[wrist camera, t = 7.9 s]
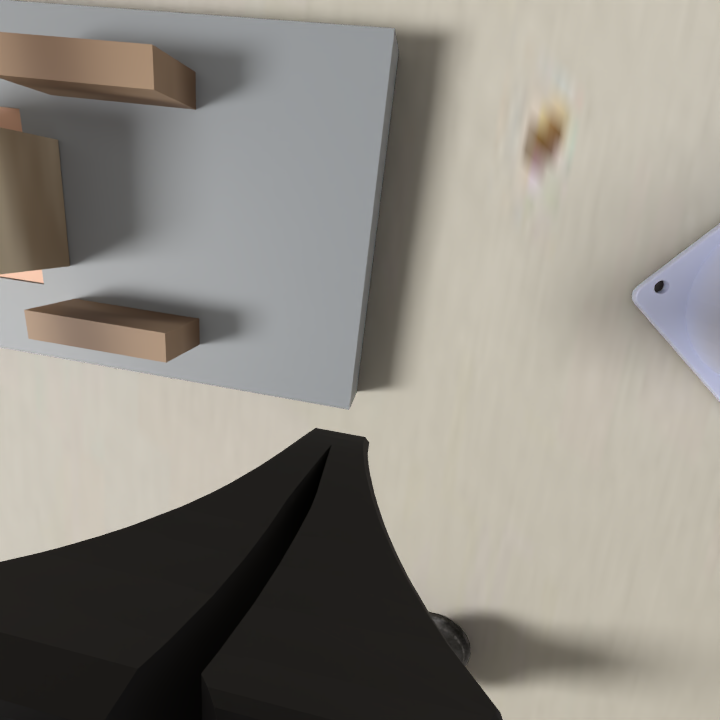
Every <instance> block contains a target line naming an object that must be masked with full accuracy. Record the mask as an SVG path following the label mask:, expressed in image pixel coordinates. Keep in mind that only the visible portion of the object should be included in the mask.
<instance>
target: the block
mask: <svg viewBox="0 0 720 720" xmlns="http://www.w3.org/2000/svg"><path fill="white" fill-rule="evenodd" d="M68 266H70V261H69V250H68V240H67V229H66V219H65V208H64V197H63V187H62V176H61V166H60V155H59V144H58V140H57V139H52V138H47V137H43V136H38V135H33V134H29V133H24V132H19V131H15V130H10V129H5V128H1V127H0V274H9V273H17V272H25V271H34V270H42V269H51V268H59V267H68Z"/></svg>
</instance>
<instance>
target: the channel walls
mask: <svg viewBox="0 0 720 720" xmlns="http://www.w3.org/2000/svg"><path fill="white" fill-rule="evenodd" d="M0 78H1V79H4V80H7V81H10V82H13V83H16V84H19V85H22V86H25V87H28V88H31V89H34V90H37V91H40V92H43V93H46V94H49V95H54V96H64V97H74V98H84V99H94V100H104V101H114V102H124V103H134V104H144V105H154V106H164V107H174V108H184V109H194V110H196V72H195V71H193V70H192V69H190V68H189V67H187V66H185V65H184V64H182V63H181V62H179V61H178V60H176V59H174V58H173V57H171V56H170V55H168V54H167V53H165V52H163V51H162V50H160V49H159V48H157V47H155V46H154V45H152V44H141V43H129V42H117V41H105V40H93V39H81V38H69V37H56V36H44V35H32V34H20V33H8V32H0ZM24 313H25V319H26V326H27V332H28V338H29V339H33V340H38V341H44V342H50V343H56V344H61V345H67V346H73V347H79V348H84V349H90V350H96V351H102V352H108V353H113V354H119V355H125V356H131V357H136V358H142V359H148V360H154V361H159V362H165V363H167V362H168V361H170V360H172V359H174V358H176V357H178V356H180V355H181V354H183V353H185V352H187V351H189V350H191V349H193V348H194V347H196V346H198V345H200V335H199V318H193V317H186V316H180V315H174V314H168V313H161V312H155V311H149V310H142V309H136V308H130V307H124V306H117V305H111V304H105V303H99V302H92V301H86V300H80V299H71V300H66V301H62V302H57V303H53V304H48V305H44V306H39V307H35V308H30V309H26V310H24Z"/></svg>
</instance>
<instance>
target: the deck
mask: <svg viewBox="0 0 720 720" xmlns="http://www.w3.org/2000/svg"><path fill="white" fill-rule="evenodd" d="M0 32H8V33H20V34H32V35H44V36H56V37H69V38H81V39H93V40H105V41H117V42H129V43H141V44H152V45H154V46H155V47H157V48H159V49H160V50H162V51H163V52H165V53H167V54H168V55H170V56H171V57H173V58H174V59H176V60H178V61H179V62H181V63H182V64H184V65H185V66H187V67H189V68H190V69H192V70H193V71H195V72H196V110H194V109H184V108H174V107H164V106H154V105H144V104H134V103H124V102H114V101H104V100H94V99H84V98H74V97H64V96H54V95H49V94H46V93H43V92H40V91H37V90H34V89H31V88H28V87H25V86H22V85H19V84H16V83H13V82H10V81H7V80H4V79H1V78H0V107H7V108H17V109H19V111H20V118H21V125H22V132H24V133H29V134H33V135H38V136H43V137H47V138H52V139H57V140H58V144H59V155H60V166H61V176H62V187H63V197H64V208H65V219H66V229H67V240H68V250H69V261H70V266H68V267H59V268H51V269H42V274H43V281H44V283H39V282H33V281H26V280H20V279H14V278H7V277H1V276H0V348H5V349H11V350H17V351H22V352H28V353H34V354H39V355H45V356H50V357H56V358H62V359H67V360H73V361H79V362H84V363H90V364H95V365H101V366H107V367H112V368H118V369H123V370H129V371H135V372H140V373H146V374H152V375H157V376H163V377H168V378H174V379H180V380H185V381H191V382H197V383H202V384H208V385H213V386H219V387H225V388H230V389H236V390H242V391H247V392H253V393H258V394H264V395H270V396H275V397H281V398H286V399H292V400H298V401H303V402H309V403H315V404H320V405H326V406H331V407H337V408H343V409H348V410H349V409H350V407H351V404H352V402H353V400H354V397H355V395H356V393H357V385H358V377H359V369H360V361H361V353H362V345H363V337H364V329H365V321H366V313H367V305H368V297H369V289H370V281H371V273H372V265H373V257H374V248H375V240H376V232H377V224H378V216H379V208H380V200H381V192H382V184H383V176H384V168H385V160H386V152H387V144H388V136H389V128H390V120H391V111H392V103H393V95H394V87H395V79H396V71H397V63H398V55H399V49H398V44H397V38H396V33H395V28H383V27H369V26H355V25H342V24H328V23H314V22H300V21H287V20H273V19H259V18H246V17H232V16H218V15H204V14H191V13H177V12H163V11H149V10H136V9H122V8H108V7H95V6H81V5H67V4H53V3H40V2H26V1H12V0H0ZM71 299H80V300H86V301H92V302H99V303H105V304H111V305H117V306H124V307H130V308H136V309H142V310H149V311H155V312H161V313H168V314H174V315H180V316H186V317H193V318H199V335H200V345H198V346H196V347H194V348H193V349H191V350H189V351H187V352H185V353H183V354H181V355H180V356H178V357H176V358H174V359H172V360H170V361H168V362H167V363H165V362H159V361H154V360H148V359H142V358H136V357H131V356H125V355H119V354H113V353H108V352H102V351H96V350H90V349H84V348H79V347H73V346H67V345H61V344H56V343H50V342H44V341H38V340H33V339H29V338H28V332H27V326H26V319H25V313H24V310H26V309H30V308H35V307H39V306H44V305H48V304H53V303H57V302H62V301H66V300H71Z"/></svg>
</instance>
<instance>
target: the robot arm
mask: <svg viewBox="0 0 720 720" xmlns="http://www.w3.org/2000/svg"><path fill="white" fill-rule="evenodd" d="M661 280H662V281H663V283H664V287H663V288H662V290H661V291H659V292H655V290H654V286H655V284H656V283H657V282H659V281H661ZM632 300H633V302H634V304H635V305H636V306H637V307H638V308H639V309H640V311H641V312H642V313H643V314H644V315H645V316H646V318H647V319H648V320H649V321H650V322H651V323H652V324H653V326H654V327H655V328H656V329H657V330H658V331H659V333H660V334H661V335H662V336H663V337H664V338H665V339H666V341H667V342H668V343H669V344H670V345H671V346H672V348H673V349H674V350H675V351H676V352H677V353H678V354H679V356H680V357H681V358H682V359H683V360H684V361H685V363H686V364H687V365H688V366H689V367H690V368H691V369H692V371H693V372H694V373H695V374H696V375H697V376H698V378H699V379H700V380H701V381H702V382H703V383H704V384H705V386H706V387H707V388H708V389H709V390H710V391H711V393H712V394H713V395H714V396H715V397H716V398H717V399H718V401H719V402H720V223H719V224H718V225H717V226H715V227H714V228H713V229H711V230H710V231H709V232H707V233H706V234H705V235H703V236H702V237H701V238H699V239H698V240H697V241H696V242H694V243H693V244H692V245H690V246H689V247H688V248H686V249H685V250H684V251H682V252H681V253H680V254H678V255H677V256H676V257H674V258H673V259H672V260H671V261H669V262H668V263H667V264H665V265H664V266H663V267H661V268H660V269H659V270H657V271H656V272H655V273H653V274H652V275H651V276H649V277H648V278H647V279H646V280H644V281H643V282H642V283H640V284H639V285H638V286H637V287H636V288H635V289H634V290H633V293H632ZM368 446H369V442H368V440H367V439H366V438H365V437H361V436H356V435H350V434H345V433H340V432H334V431H329V430H323V429H318V428H315V429H314V430H312V431H311V432H309V433H308V434H306V435H305V436H303V437H302V438H300V439H299V440H298V441H296V442H295V443H293V444H292V445H290V446H289V447H288V448H286V449H285V450H283V451H282V452H280V453H279V454H277V455H276V456H274V457H273V458H271V459H270V460H268V461H267V462H265V463H264V464H262V465H261V466H259V467H257V468H256V469H254V470H252V471H250V472H249V473H247V474H245V475H244V476H242V477H240V478H239V479H237V480H235V481H233V482H232V483H230V484H228V485H226V486H224V487H222V488H220V489H218V490H216V491H214V492H212V493H210V494H208V495H206V496H204V497H202V498H199V499H197V500H195V501H193V502H191V503H189V504H186V505H184V506H182V507H179V508H177V509H174V510H172V511H169V512H166V513H164V514H161V515H158V516H156V517H153V518H151V519H148V520H145V521H143V522H140V523H137V524H135V525H132V526H129V527H126V528H123V529H120V530H117V531H114V532H111V533H108V534H105V535H102V536H98V537H95V538H92V539H88V540H85V541H81V542H78V543H75V544H71V545H68V546H64V547H60V548H57V549H53V550H49V551H45V552H41V553H37V554H33V555H29V556H24V557H20V558H16V559H11V560H7V561H3V562H0V720H503V719H502V716H501V713H500V712H499V710H498V709H497V708H496V706H495V705H494V704H493V703H492V701H491V700H490V699H489V697H488V696H487V695H486V693H485V692H484V691H483V690H482V688H481V687H480V686H479V684H478V683H477V682H476V681H475V679H474V678H473V677H472V675H471V674H470V673H469V671H468V670H467V669H466V667H465V666H464V664H463V663H462V662H461V660H460V659H459V658H458V656H457V655H456V653H455V652H454V651H453V649H452V648H451V646H450V645H449V643H448V642H447V640H446V639H445V637H444V636H443V634H442V633H441V631H440V630H439V628H438V627H437V625H436V624H435V622H434V621H433V619H432V617H431V616H430V614H429V612H428V610H427V609H426V607H425V605H424V604H423V602H422V600H421V598H420V597H419V595H418V593H417V592H416V590H415V588H414V586H413V585H412V583H411V581H410V580H409V578H408V576H407V574H406V572H405V570H404V568H403V566H402V564H401V562H400V560H399V558H398V556H397V554H396V551H395V549H394V547H393V544H392V542H391V540H390V538H389V535H388V533H387V530H386V528H385V525H384V522H383V519H382V516H381V513H380V510H379V507H378V504H377V501H376V497H375V494H374V490H373V486H372V481H371V477H370V472H369V465H368Z"/></svg>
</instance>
